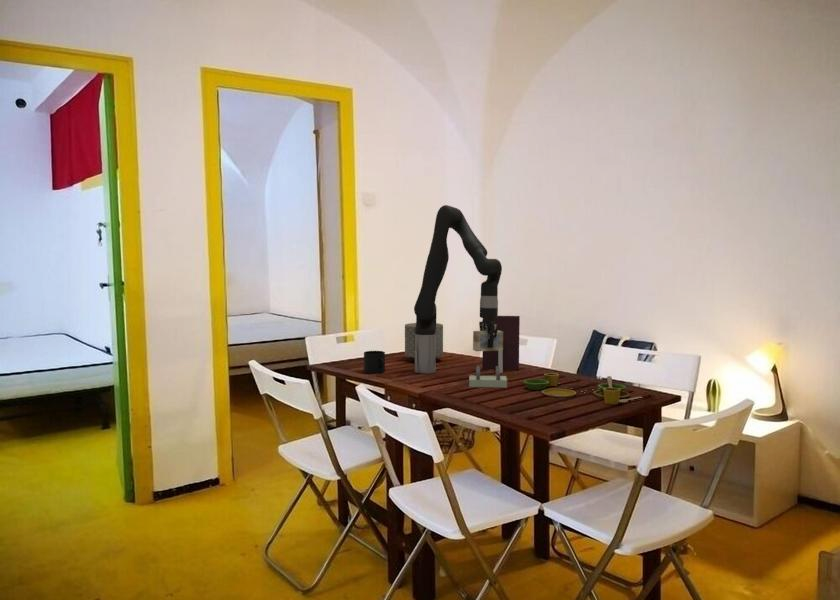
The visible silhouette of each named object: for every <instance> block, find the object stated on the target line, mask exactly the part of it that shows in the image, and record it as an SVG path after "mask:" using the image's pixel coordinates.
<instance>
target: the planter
mask: <svg viewBox="0 0 840 600" xmlns="http://www.w3.org/2000/svg"><path fill="white" fill-rule="evenodd" d="M415 327H416V322H412V323H411V322H410V323H405V324H404V356H405V357H408V358H409V359H411V360H413V361H414V362H415ZM442 356H444V324H442V323H438V322H436V360H437V359H439V358H440V357H442Z"/></svg>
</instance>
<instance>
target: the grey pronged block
mask: <svg viewBox="0 0 840 600" xmlns="http://www.w3.org/2000/svg"><path fill="white" fill-rule="evenodd" d="M468 381H469V382H468V384H469V385H468V388H493V389H494V388H496V389H498V388H501V389H504V388H505V389H507V388H508V378H507V376H506V375H501V373H500V367H499V366H496V370H495V375H481V366H480V365H476V366H475V375H473V374H472V375H469V379H468Z"/></svg>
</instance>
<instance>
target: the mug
mask: <svg viewBox="0 0 840 600" xmlns="http://www.w3.org/2000/svg"><path fill="white" fill-rule="evenodd" d="M363 372H364V373H365V374H369V375H378V374H383V373H385V372H386V352H385V351H382V350H369V351H364V352H363Z"/></svg>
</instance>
